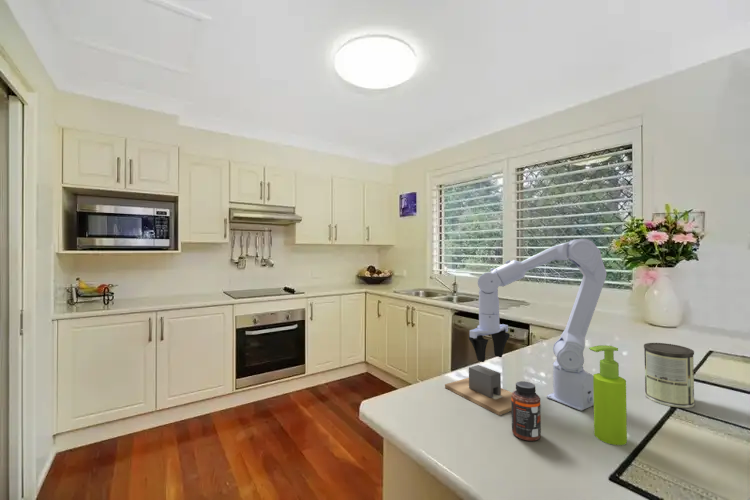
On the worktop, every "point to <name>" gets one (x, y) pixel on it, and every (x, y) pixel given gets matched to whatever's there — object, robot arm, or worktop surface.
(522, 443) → the worktop surface
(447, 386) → the pin board
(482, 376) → the block
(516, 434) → the supplement bottle
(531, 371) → the worktop surface
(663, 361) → the coffee can
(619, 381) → the soap dispenser
